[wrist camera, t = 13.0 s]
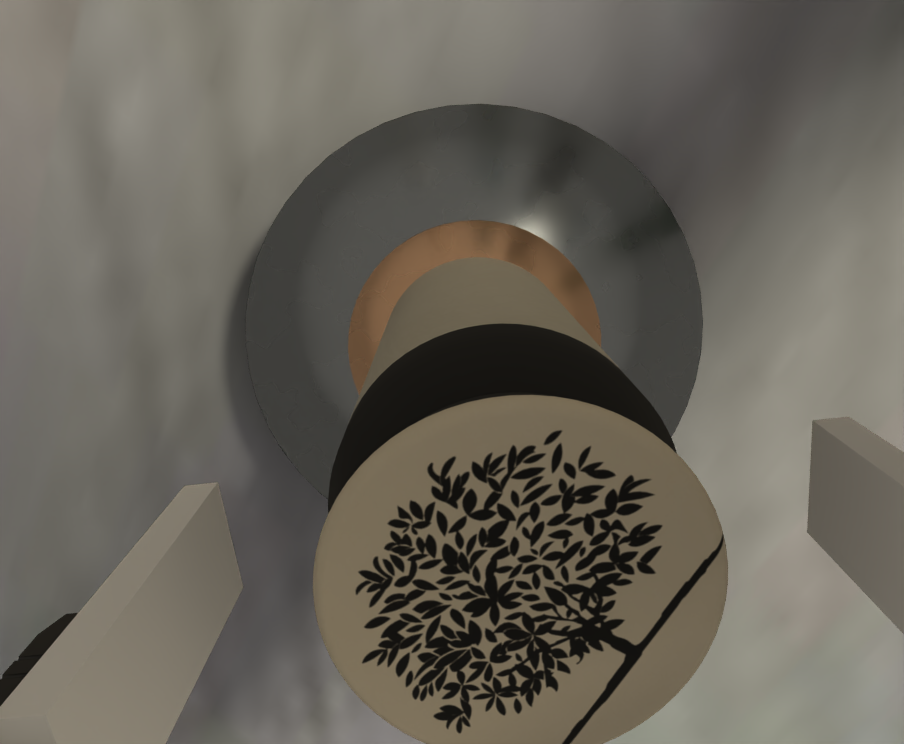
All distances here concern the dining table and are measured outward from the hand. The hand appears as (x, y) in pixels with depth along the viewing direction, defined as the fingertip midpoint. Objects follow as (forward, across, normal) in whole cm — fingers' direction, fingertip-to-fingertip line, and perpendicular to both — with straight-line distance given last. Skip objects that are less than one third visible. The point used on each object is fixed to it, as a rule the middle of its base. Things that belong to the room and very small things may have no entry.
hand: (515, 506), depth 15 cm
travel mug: (+15, 0, 0) cm, 15 cm away
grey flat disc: (+17, -1, 0) cm, 17 cm away
